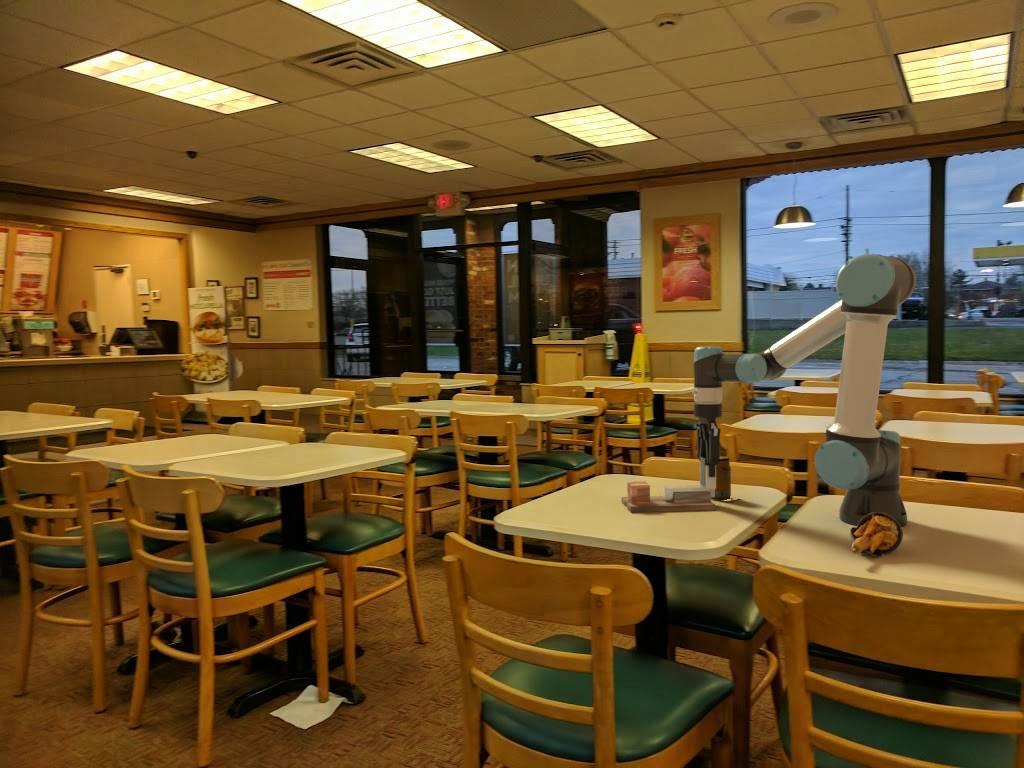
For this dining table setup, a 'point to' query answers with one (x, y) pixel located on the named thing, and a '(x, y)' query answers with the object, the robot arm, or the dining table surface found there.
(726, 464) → the condiment
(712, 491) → the mallet
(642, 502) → the rail slide board
